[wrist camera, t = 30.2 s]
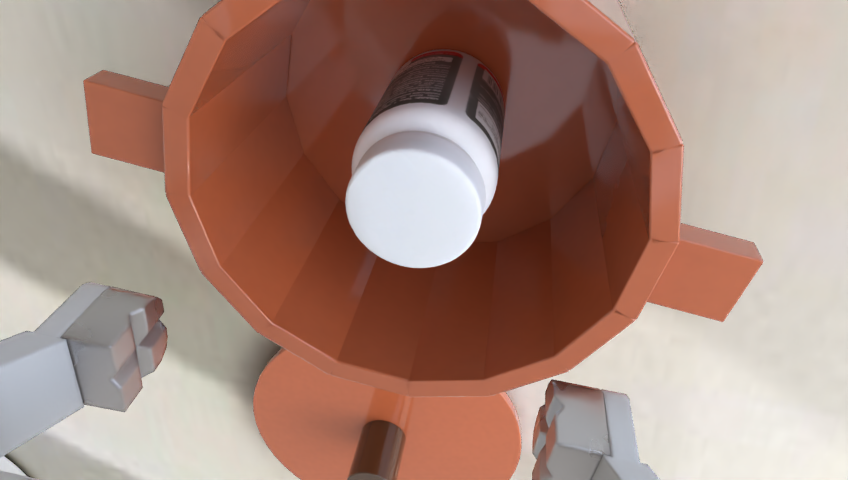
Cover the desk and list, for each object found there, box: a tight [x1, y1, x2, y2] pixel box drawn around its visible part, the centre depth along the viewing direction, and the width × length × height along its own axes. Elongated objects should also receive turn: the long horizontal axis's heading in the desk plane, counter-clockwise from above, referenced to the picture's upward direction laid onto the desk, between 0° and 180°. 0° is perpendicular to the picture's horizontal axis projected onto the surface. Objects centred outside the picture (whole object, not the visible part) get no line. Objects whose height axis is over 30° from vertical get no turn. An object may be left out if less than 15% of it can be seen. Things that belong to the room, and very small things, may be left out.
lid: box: [253, 348, 522, 480], centre depth 34 cm, size 16×16×5 cm
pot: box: [83, 0, 763, 397], centre depth 21 cm, size 15×20×9 cm
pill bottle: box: [345, 49, 505, 268], centre depth 21 cm, size 5×5×8 cm
